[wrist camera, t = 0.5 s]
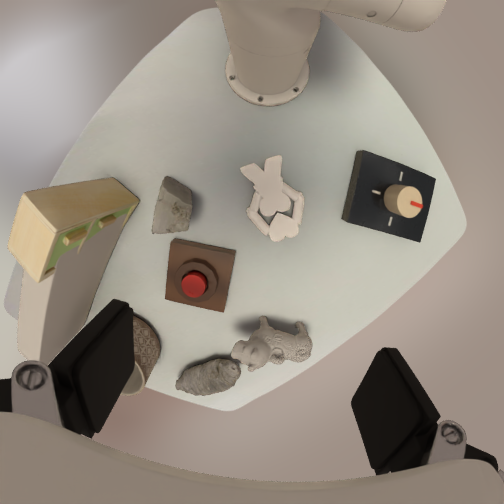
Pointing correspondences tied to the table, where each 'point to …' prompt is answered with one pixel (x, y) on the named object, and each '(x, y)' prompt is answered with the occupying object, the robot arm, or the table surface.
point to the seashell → (209, 377)
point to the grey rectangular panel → (63, 296)
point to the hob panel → (372, 196)
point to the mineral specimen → (172, 208)
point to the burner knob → (403, 200)
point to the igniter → (206, 262)
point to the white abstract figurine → (273, 200)
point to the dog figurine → (272, 346)
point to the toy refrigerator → (64, 221)
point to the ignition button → (194, 284)
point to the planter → (142, 357)
